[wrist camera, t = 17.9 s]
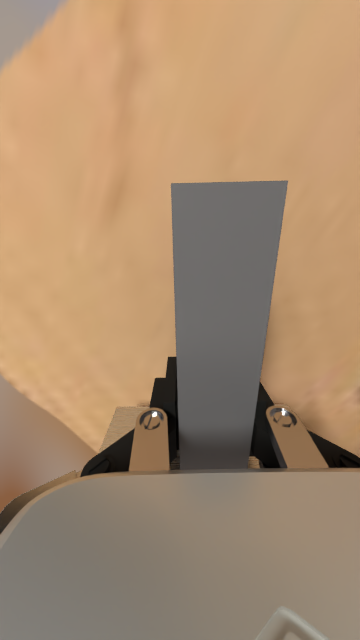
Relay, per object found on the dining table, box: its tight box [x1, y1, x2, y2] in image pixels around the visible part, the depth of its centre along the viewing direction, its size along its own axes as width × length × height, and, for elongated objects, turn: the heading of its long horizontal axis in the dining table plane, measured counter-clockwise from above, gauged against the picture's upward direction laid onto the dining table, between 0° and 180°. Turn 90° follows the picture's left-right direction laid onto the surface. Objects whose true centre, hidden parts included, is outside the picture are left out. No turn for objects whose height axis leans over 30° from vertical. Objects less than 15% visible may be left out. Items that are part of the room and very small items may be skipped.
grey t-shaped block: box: [98, 181, 290, 470], centre depth 10 cm, size 12×13×5 cm
